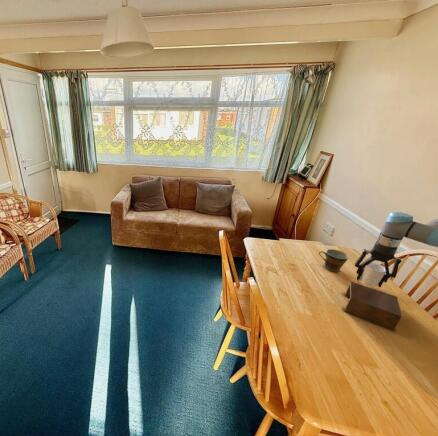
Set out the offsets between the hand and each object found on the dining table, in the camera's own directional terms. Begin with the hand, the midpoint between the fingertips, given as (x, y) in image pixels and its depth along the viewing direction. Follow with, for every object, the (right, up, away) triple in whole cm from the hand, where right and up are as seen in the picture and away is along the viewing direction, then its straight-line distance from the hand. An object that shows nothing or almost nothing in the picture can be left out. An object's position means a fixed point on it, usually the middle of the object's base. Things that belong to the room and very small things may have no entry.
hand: (368, 282), depth 117 cm
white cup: (0, 0, 0) cm, 0 cm away
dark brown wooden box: (-13, -9, -12) cm, 20 cm away
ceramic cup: (-8, +4, +17) cm, 19 cm away
